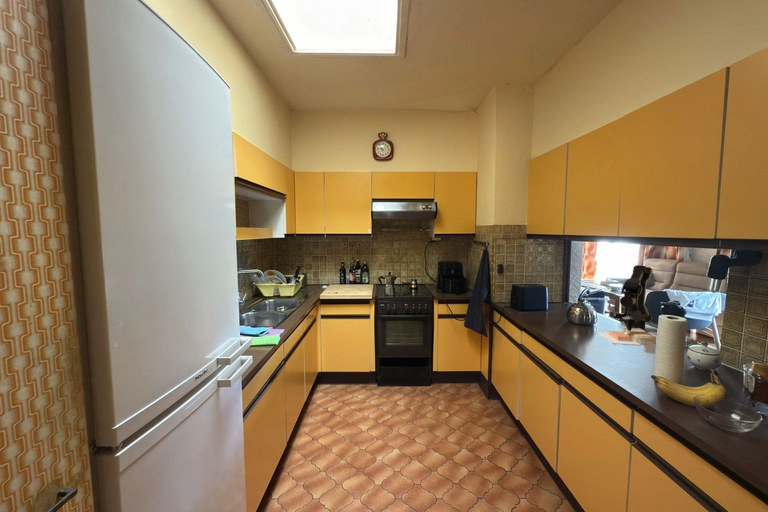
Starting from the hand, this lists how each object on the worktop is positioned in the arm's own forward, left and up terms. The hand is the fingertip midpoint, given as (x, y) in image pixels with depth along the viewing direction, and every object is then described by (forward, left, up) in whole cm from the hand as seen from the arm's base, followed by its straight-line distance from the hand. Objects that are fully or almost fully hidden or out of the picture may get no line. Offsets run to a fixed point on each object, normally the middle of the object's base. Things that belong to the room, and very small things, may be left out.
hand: (629, 330), depth 169 cm
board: (0, +6, -5) cm, 8 cm away
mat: (0, -5, -5) cm, 8 cm away
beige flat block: (+18, -2, -5) cm, 19 cm away
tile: (0, -5, -2) cm, 5 cm away
